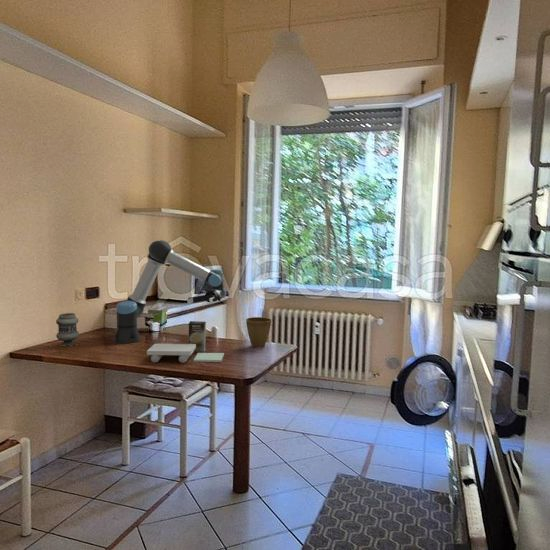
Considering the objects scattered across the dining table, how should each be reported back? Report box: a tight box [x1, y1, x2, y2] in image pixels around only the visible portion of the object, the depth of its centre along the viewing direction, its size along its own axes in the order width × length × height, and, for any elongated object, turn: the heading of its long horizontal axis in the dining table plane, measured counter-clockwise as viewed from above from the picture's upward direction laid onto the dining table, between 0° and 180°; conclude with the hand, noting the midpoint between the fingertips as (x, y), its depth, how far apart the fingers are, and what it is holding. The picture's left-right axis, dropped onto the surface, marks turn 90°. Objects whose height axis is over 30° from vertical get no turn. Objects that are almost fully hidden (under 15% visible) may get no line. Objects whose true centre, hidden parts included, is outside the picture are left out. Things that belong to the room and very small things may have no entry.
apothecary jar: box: [55, 312, 80, 347], centre depth 265 cm, size 12×12×18 cm
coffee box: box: [188, 320, 207, 353], centre depth 257 cm, size 9×6×16 cm
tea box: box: [147, 306, 169, 332], centre depth 314 cm, size 15×10×15 cm
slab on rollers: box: [146, 343, 196, 364], centre depth 239 cm, size 22×16×6 cm
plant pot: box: [245, 316, 272, 348], centre depth 269 cm, size 15×15×16 cm
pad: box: [193, 352, 225, 363], centre depth 242 cm, size 14×14×1 cm
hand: (198, 301), depth 263 cm, fingers open, 13 cm apart
